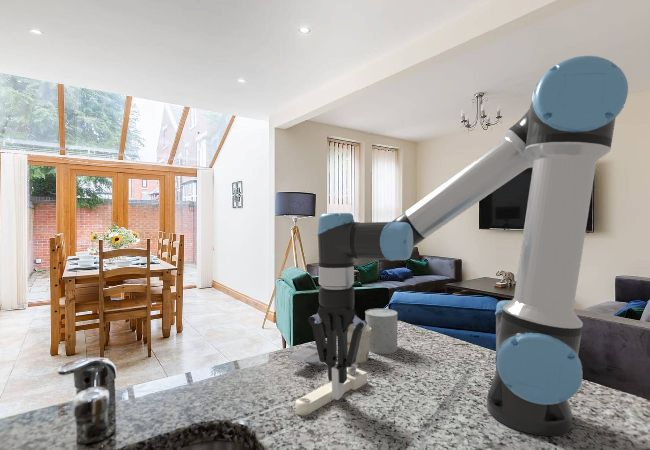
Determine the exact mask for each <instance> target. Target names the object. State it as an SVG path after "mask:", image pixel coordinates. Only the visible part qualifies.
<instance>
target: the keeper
mask: <svg viewBox="0 0 650 450" xmlns="http://www.w3.org/2000/svg"><path fill="white" fill-rule="evenodd" d="M288 359H290V360H294V361H297V362H301V363H307V364H312V365H315V366H318V367H320V366H322V365H323V364H325V363H324V362H320V360H319V355H318V351H317V346H316V345H315V346H314V345H311V344H309V345H306V346H304V347H302V348H300V349H298V350H296V351H293V352H291V353H289V354H288Z"/></svg>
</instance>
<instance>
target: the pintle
mask: <svg viewBox="0 0 650 450" xmlns="http://www.w3.org/2000/svg"><path fill="white" fill-rule="evenodd" d="M358 365H359V363H354V364H353V365H352V366H351V367H347V368H348V374H349V375H351V376H354V375H356V369H359V368H358Z"/></svg>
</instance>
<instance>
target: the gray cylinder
mask: <svg viewBox="0 0 650 450" xmlns="http://www.w3.org/2000/svg"><path fill="white" fill-rule="evenodd" d="M364 313H365V321H366V322H367V325H368V326H370V327H371V338H370V347H369V353H372V354H377V355H390V354H394V353H396V352H398V315H399V313H398V311H396V310H393V309H390V308H380V307H379V308H370V309H367V310H365V311H364Z"/></svg>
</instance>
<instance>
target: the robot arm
mask: <svg viewBox="0 0 650 450" xmlns="http://www.w3.org/2000/svg"><path fill="white" fill-rule="evenodd" d="M628 93H629V82H628V79H627V76H626V75H625V73H624V71H623V70H622V68H621V67H619V66H618V65H617V64H616V63H614V62H613V61H611V60H609V59H607V58H604V57H600V56H595V55H579V56H574V57H571V58H567V59H565V60H563V61H560V62H558V63H557V64H555V65H554V66H552V67H551V68H549V70H547V71H546V72H545V74H544V75H543V76H542V77H541V78H540V79H539V81H538V82H537V83H536V85H535V88H534V90H533V92H532V97H531V99H532V100H531V103H530V105H529V109H528V110H527V111H526V113H525V114H524V115H523V116H522V117H521V118H520V119H519V120H518V121H517V122H516V123H514V124H513V125H512V126H511V127H509V128H508V129H507V130H506V131H505V135H504V138H503V139H502V140H501V141H499V142H498V143H496V144H495V145H494V146H492V147H491V148H490V149H488V150H487V151H485V152H484V153H483V154H481V155H480V156H479V157H477V158H476V159H474V161H472V162H471V163H469V164H467V166H465V167H464V168H462V169H461V170H459V171H458V172H457V173H455V174H454V175H453V176H451V177H450V178H449V179H447V180H446V181H445V182H443V183H442V184H441V185H440V186H438V187H436V188H435V189H434V190H432V191H431V192H430V193H429V194H427V195H426V196H425V197H423V198H422V199H420V200H419V201H418V202H417V203H415V204H413V205H412V206H411V207H410V208H408V209H407V210H406V211H404V212H403V213H401V214H400V215H399V216H397V217H396V218H394V219H393V220H392V221H375V222H374V221H371V222H360V221H359V222H358V221H355V219H354V214H353V213H351V212H339V213H337V212H336V213H333V212H330V213H329V212H328V213H322V214H321V215H320V216H319V217H318V224H317V227H318V229H317V235H316V236H317V242H318V243H317V245H318V246H317V247H318V284H319V288H318V303H319V307H318V310H317V313H316V314H313V315H312V316H311V315H310V316H309V317H308V318H307V319H308V320H307V321H308V322H309V323H308V324H310V326H311V328H312V333H313V337H314V341H315V347H317V351H318V355H319V360H320V362H324V364H325V365H327V374H328V376H327V377H328V378H327V379H328V381H330V382H331V381H332V399H333V400H336V401H339V400H340V399H341V398H342V397H343V396H344V393H343V384H344V383H345V381H346V380H347V367H351V366H352V365H353V364H354V363H355V361H356V357H357V352H358V348H359V343H360V339H361V335H362V331H363V329H364V328H365V326H366V325H367V322H366V319H363V320H362V319H361V318H360V317H359V316H357V312H356V309H355V287H354V286H353V285H354V284H355V259H356V260H359V259H361V260H362V259H366V260H380V261H381V260H382V261H383V260H384V261H390V262H395V261H406V260H409V259H410V258H411V256H412V254H413V249H414V248H415V246H417V245H418V244H419V243H421V242H422V241H423V240H425V239H426V238H428V237H429V236H431V235H432V234H434V233H435V232H436V231H439V230H440V229H441V228H442V227H444V226H445V225H446V224H448V223H449V222H450V221H451V222H452V221H453V220H454V219H456V218H457V217H458V216H460V215H461V214H462V213H464V212H466V211H467V210H468V209H470V208H471V207H473V206H474V205H476V204H478V203H479V202H480V201H482V200H483V199H485V198H486V197H487V196H488V195H490V194H492V193H494V192H495V191H496V190H497V189H499V188H501V187H502V186H503V185H505V184H507V183H508V182H509V181H511V180H512V179H514V178H515V177H516V176H518V175H519V174H521V173H523V172H524V171H526V170H527V169H529V168H532V171H531V179H530V184H529V192H528V198H527V206H526V213H525V219H524V220H525V221H524V226H523V232H522V241H521V246H520V254H519V262H518V268H517V274H516V281H515V288H514V289H515V290H514V296H513V298H512V299H511V300H510V299H509V300H508V299H507V300H506V299H504V300H500V301H498V302H497V304H496V307H495V308H496V310H495V312H494V314H495V323H496V324H495V357H494V363H495V373H494V376H493V379H492V381H491V384H490V387H489V390H488V392H487V395H486V409H487V411H488V413H489V414H490V415H491V416H492V418H494V419H495V420H497V421H498V422H499V423H501V424H503V425H505V426H507V427H509V428H511V429H514V430H517V431H519V432H522V433H527V434H530V435H537V436H545V437H546V436H551V437H553V436H554V437H555V436H561V435H564V434H567V433H569V432H570V431H571V430H572V428H573V413H572V410H571V409H572V408H571V406H570V404H569V400H570V399H572V397H574V396H575V395H576V393H577V392H578V391H579V390H580V388H581V386H582V382H583V372H584V371H583V365H582V361H581V359H580V358H579V352H580V345H581V339H582V332H583V325H584V323H583V321H582V320H581V318H579V316H578V315H577V314H576V313H575V311H574V307H575V302H576V301H575V300H576V296H577V289H578V283H579V274H580V268H581V262H582V256H583V255H582V254H583V249H584V243H585V239H586V237H585V236H586V231H587V224H588V218H589V212H590V205H591V198H592V192H593V185H594V178H595V173H596V166H597V162H598V161H599V160H600V159H602V158H603V157H604V156H605V155H607V154H608V153H610V152H611V149H612V143H613V137H614V130H615V123H616V118H617V117H618V116H619V115H620V114H621V112H622V110H623V109H624V107H625V104H626V101H627V98H628V95H629V94H628ZM351 324H353V328H354V331H353V334H352V338H351V342H350V347H349V351H348V347H347V333H348V327H349V326H350V325H351ZM323 325H324V326H325V328H324V327H323ZM324 329H325V330H324ZM324 331H325V332H324ZM337 353H338V356H337Z"/></svg>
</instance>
